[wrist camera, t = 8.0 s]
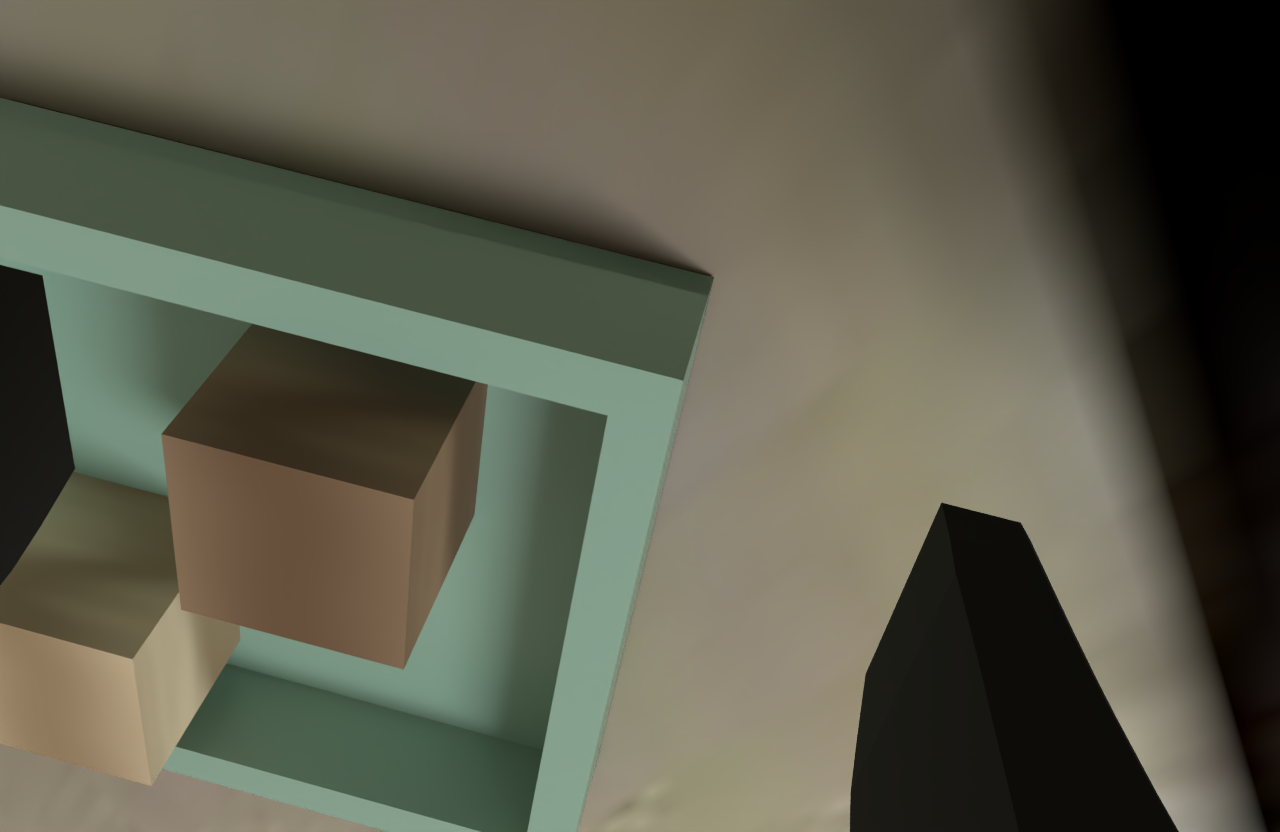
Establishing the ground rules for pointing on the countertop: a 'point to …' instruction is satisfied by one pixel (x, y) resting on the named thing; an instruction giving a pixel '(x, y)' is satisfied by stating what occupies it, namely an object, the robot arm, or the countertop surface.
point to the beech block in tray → (104, 636)
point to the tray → (406, 332)
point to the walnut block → (322, 492)
